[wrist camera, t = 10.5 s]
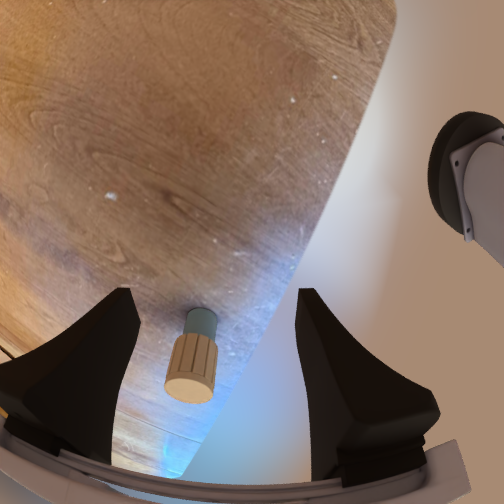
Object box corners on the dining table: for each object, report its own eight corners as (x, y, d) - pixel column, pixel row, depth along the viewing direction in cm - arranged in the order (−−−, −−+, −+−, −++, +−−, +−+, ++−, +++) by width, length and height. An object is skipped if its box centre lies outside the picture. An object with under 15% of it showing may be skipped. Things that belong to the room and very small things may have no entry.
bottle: (223, 323, 26) (218, 371, 21) (199, 333, 26) (191, 379, 22) (205, 303, 24) (196, 351, 20) (181, 314, 25) (168, 361, 20)
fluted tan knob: (226, 353, 23) (222, 398, 19) (193, 364, 24) (185, 407, 20) (199, 327, 21) (191, 374, 17) (166, 340, 22) (154, 384, 18)
